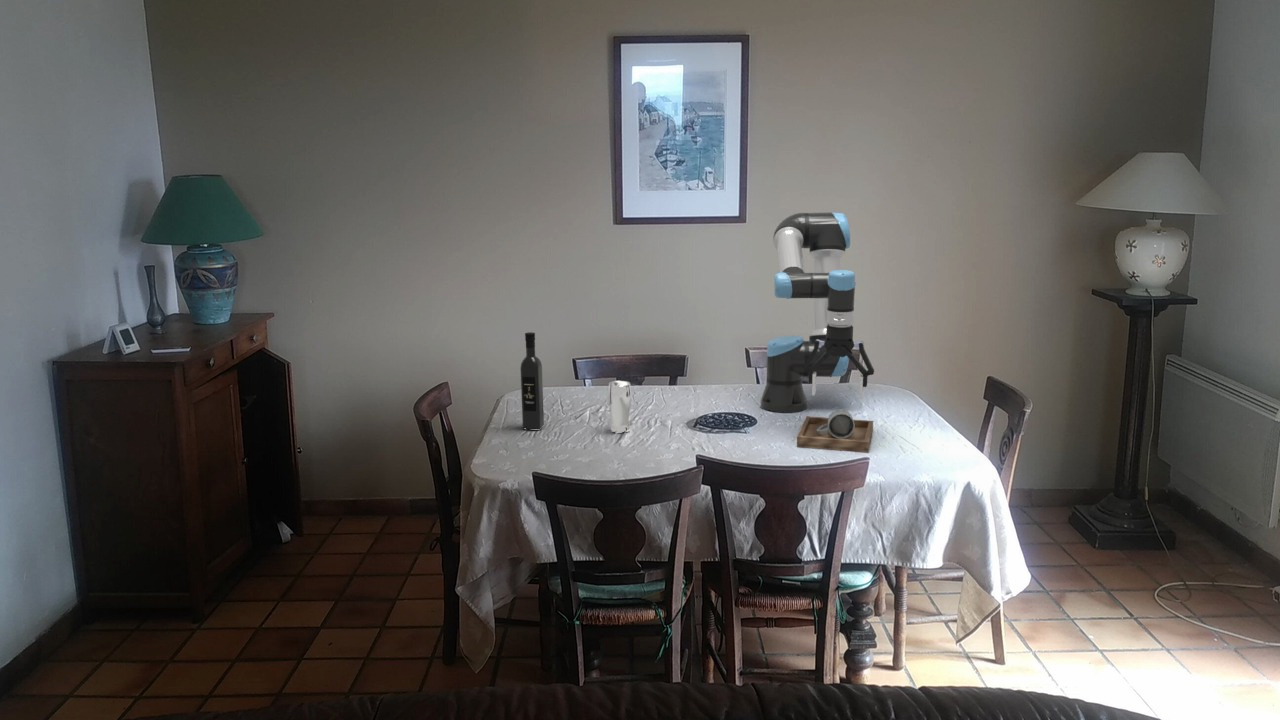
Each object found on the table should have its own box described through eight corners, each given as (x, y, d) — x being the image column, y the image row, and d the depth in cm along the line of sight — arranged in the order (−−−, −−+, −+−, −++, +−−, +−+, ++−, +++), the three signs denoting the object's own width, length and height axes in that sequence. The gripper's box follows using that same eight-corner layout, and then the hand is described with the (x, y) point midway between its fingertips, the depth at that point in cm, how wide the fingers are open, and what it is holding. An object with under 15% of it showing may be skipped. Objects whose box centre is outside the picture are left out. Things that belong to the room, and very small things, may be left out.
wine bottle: (539, 431, 287) (536, 335, 280) (521, 430, 288) (517, 334, 281) (545, 425, 292) (541, 331, 286) (527, 425, 293) (523, 331, 287)
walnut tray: (796, 446, 269) (797, 436, 268) (806, 425, 289) (806, 416, 289) (868, 452, 263) (868, 442, 262) (872, 430, 284) (873, 420, 283)
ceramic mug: (852, 431, 279) (852, 406, 278) (854, 439, 272) (854, 413, 270) (816, 430, 281) (816, 406, 279) (817, 438, 273) (817, 413, 271)
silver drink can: (635, 429, 288) (634, 381, 285) (625, 435, 282) (624, 387, 278) (615, 426, 291) (614, 379, 287) (605, 432, 285) (604, 384, 281)
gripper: (794, 325, 269) (792, 396, 274) (884, 329, 262) (880, 402, 267) (798, 320, 276) (796, 389, 281) (885, 324, 269) (881, 395, 274)
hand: (837, 395), depth 274 cm, fingers open, 13 cm apart
